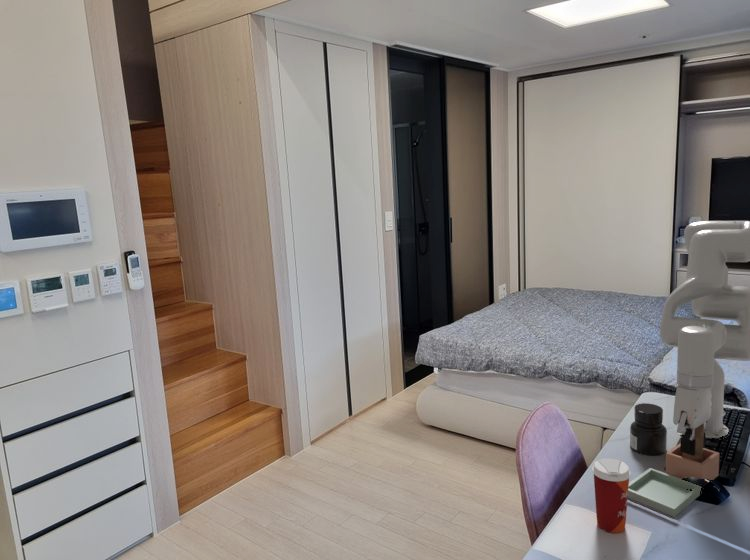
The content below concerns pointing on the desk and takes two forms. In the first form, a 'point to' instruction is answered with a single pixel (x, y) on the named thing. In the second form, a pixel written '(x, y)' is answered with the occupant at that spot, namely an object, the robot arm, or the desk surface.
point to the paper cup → (611, 494)
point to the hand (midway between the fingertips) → (692, 448)
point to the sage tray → (662, 492)
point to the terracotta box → (692, 464)
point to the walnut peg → (697, 444)
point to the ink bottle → (648, 430)
